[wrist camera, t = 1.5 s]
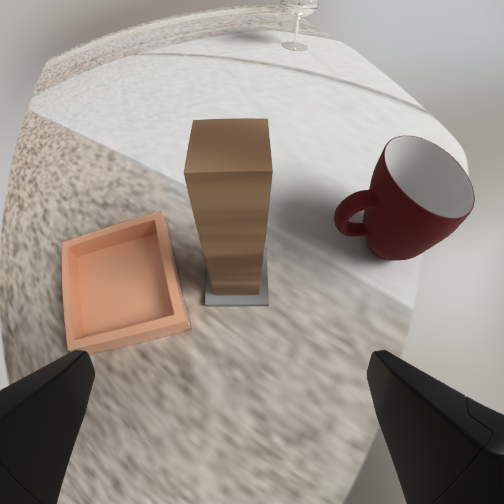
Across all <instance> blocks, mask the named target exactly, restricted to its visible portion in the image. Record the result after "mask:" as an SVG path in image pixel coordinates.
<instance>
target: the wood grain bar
mask: <svg viewBox="0 0 504 504" xmlns="http://www.w3.org/2000/svg"><path fill="white" fill-rule="evenodd" d="M272 173H273V170H272V159H271V148H270V138H269V127H268V119H207V120H193V124H192V129H191V135H190V140H189V146H188V151H187V157H186V163H185V169H184V176H185V180H186V185H187V189H188V193H189V198H190V202H191V206H192V210H193V214H194V218H195V222H196V226H197V230H198V234H199V238H200V242H201V246H202V250H203V254H204V258H205V261H206V265H207V270H206V293H205V305H206V306H268V305H269V297H268V275H267V254H266V248H264V246H265V237H266V228H267V219H268V210H269V201H270V192H271V182H272Z"/></svg>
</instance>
